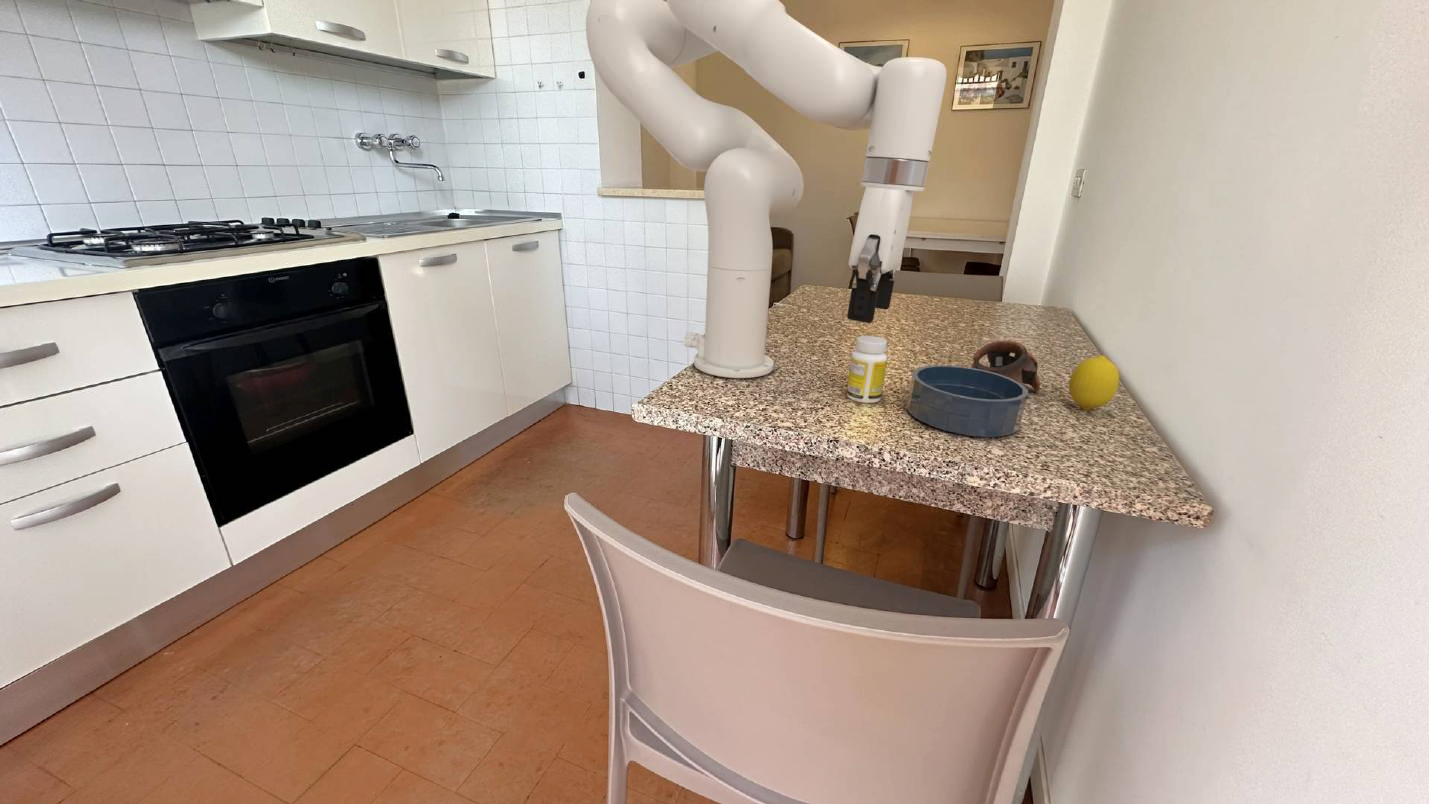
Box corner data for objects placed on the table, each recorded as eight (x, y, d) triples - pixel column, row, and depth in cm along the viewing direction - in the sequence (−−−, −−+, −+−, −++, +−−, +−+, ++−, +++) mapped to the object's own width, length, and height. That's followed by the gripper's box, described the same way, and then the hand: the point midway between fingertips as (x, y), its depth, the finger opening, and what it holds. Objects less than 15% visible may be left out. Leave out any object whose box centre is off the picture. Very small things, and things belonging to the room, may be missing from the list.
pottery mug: (1053, 404, 82) (1045, 359, 78) (985, 423, 85) (973, 381, 81) (1024, 360, 92) (1015, 318, 88) (963, 379, 95) (952, 339, 91)
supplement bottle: (879, 393, 82) (888, 336, 79) (882, 405, 77) (892, 345, 74) (845, 390, 83) (853, 333, 79) (846, 401, 78) (854, 342, 75)
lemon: (1082, 402, 83) (1098, 348, 80) (1118, 416, 78) (1137, 360, 75) (1053, 404, 81) (1068, 350, 78) (1087, 420, 76) (1105, 362, 73)
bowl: (897, 423, 72) (904, 386, 70) (915, 392, 83) (921, 359, 81) (1017, 449, 66) (1027, 409, 64) (1019, 412, 78) (1028, 377, 76)
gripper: (879, 175, 78) (857, 299, 85) (844, 172, 64) (821, 321, 70) (935, 180, 75) (909, 307, 82) (913, 177, 61) (882, 332, 67)
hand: (868, 313), depth 76 cm, fingers open, 9 cm apart
